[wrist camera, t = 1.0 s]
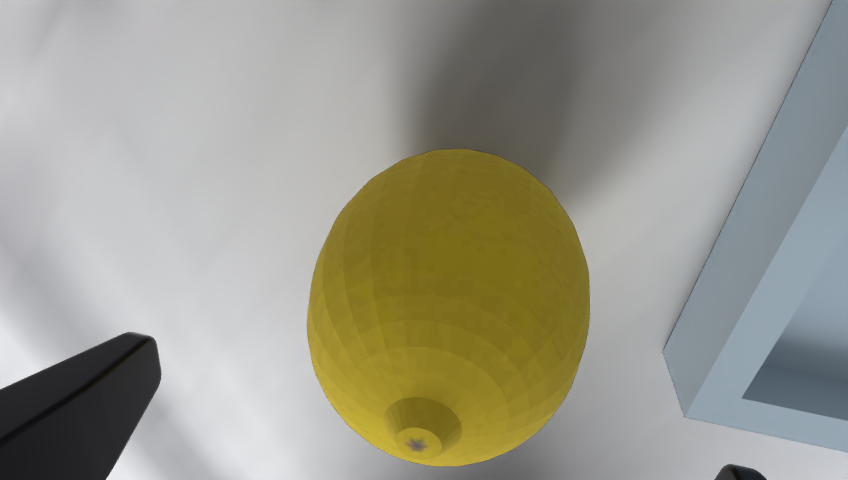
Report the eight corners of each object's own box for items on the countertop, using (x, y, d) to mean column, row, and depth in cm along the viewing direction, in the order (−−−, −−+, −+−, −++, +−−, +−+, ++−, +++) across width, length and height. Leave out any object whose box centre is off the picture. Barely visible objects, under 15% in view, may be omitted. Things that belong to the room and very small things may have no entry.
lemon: (569, 93, 13) (624, 278, 6) (574, 286, 15) (617, 574, 8) (349, 118, 14) (176, 296, 7) (389, 293, 16) (292, 549, 10)
